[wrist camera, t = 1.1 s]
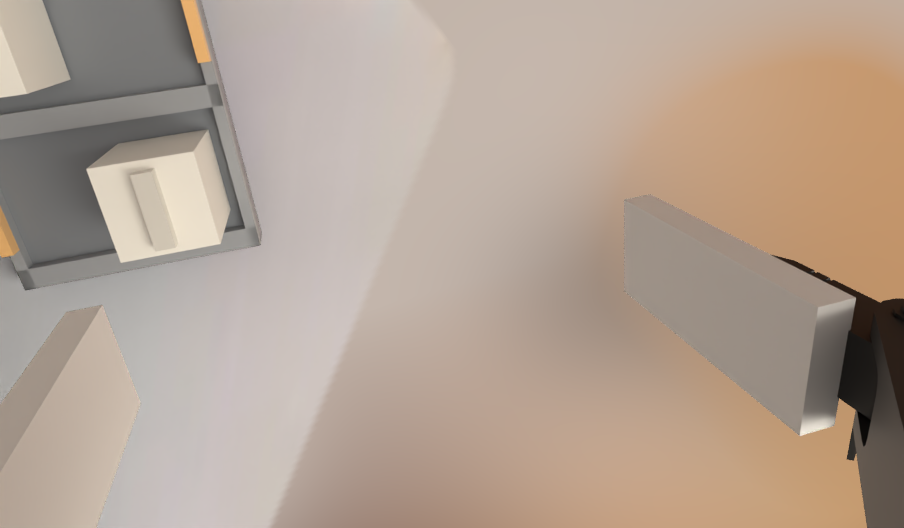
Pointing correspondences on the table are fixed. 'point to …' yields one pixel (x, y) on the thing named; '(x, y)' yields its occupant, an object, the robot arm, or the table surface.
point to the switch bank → (110, 133)
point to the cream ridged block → (28, 49)
